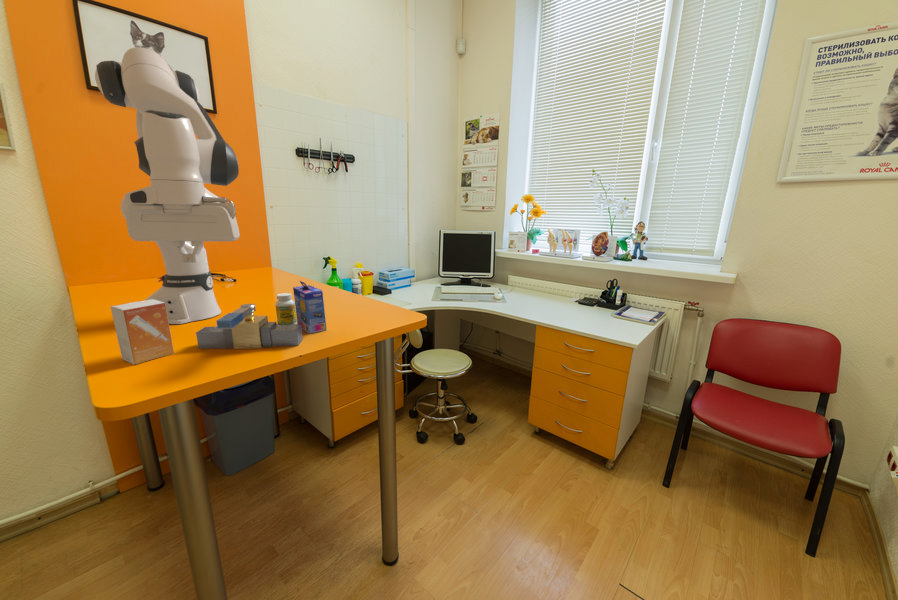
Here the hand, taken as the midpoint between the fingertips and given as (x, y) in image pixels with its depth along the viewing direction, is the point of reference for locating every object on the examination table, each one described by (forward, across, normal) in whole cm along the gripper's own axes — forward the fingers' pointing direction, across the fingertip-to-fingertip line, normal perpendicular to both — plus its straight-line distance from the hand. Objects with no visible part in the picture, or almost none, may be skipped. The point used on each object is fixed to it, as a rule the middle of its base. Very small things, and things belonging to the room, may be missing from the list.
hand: (191, 262), depth 77 cm
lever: (+14, -7, -4) cm, 16 cm away
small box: (+23, +14, -4) cm, 28 cm away
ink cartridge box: (+23, -18, -22) cm, 37 cm away
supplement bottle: (+23, -10, -26) cm, 36 cm away
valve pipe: (+23, -6, -10) cm, 26 cm away
